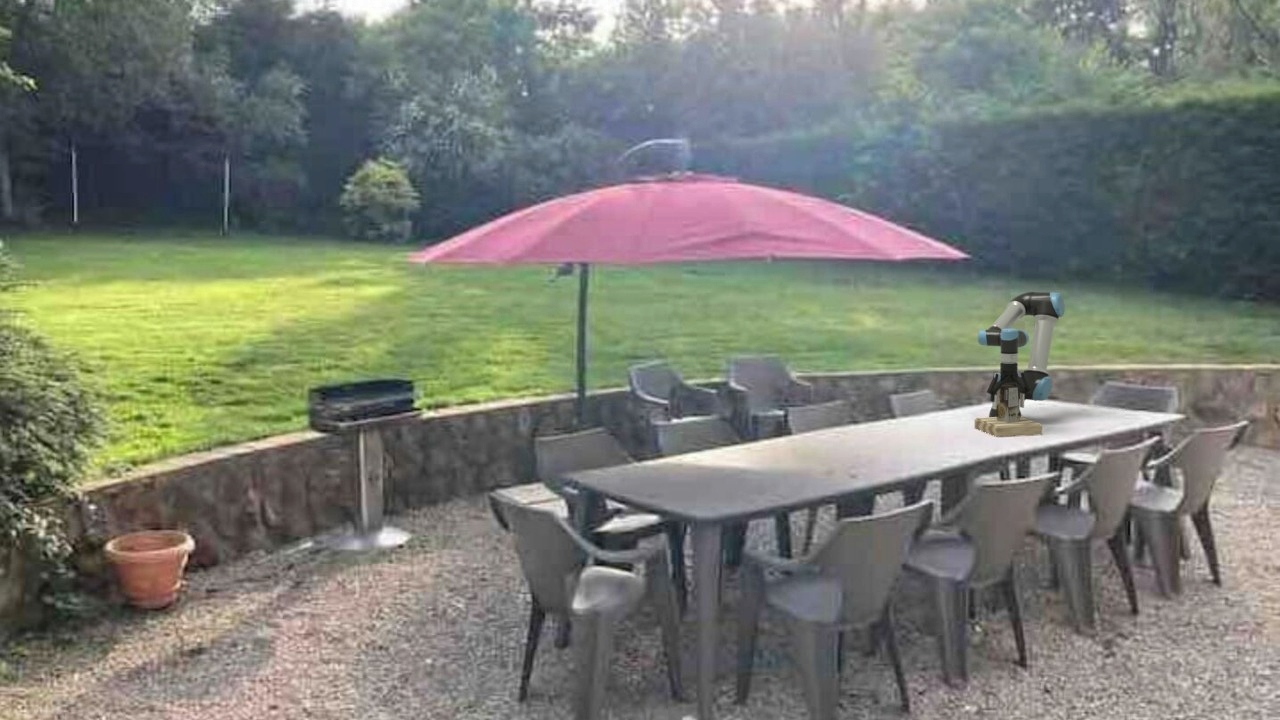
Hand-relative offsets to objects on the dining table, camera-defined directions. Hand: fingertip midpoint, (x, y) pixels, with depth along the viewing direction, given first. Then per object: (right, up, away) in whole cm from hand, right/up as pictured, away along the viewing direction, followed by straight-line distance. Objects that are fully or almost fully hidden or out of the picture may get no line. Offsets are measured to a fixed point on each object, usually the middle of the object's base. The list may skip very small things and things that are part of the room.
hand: (1008, 408), depth 510 cm
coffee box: (0, -6, +1) cm, 6 cm away
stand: (0, -11, +1) cm, 11 cm away
